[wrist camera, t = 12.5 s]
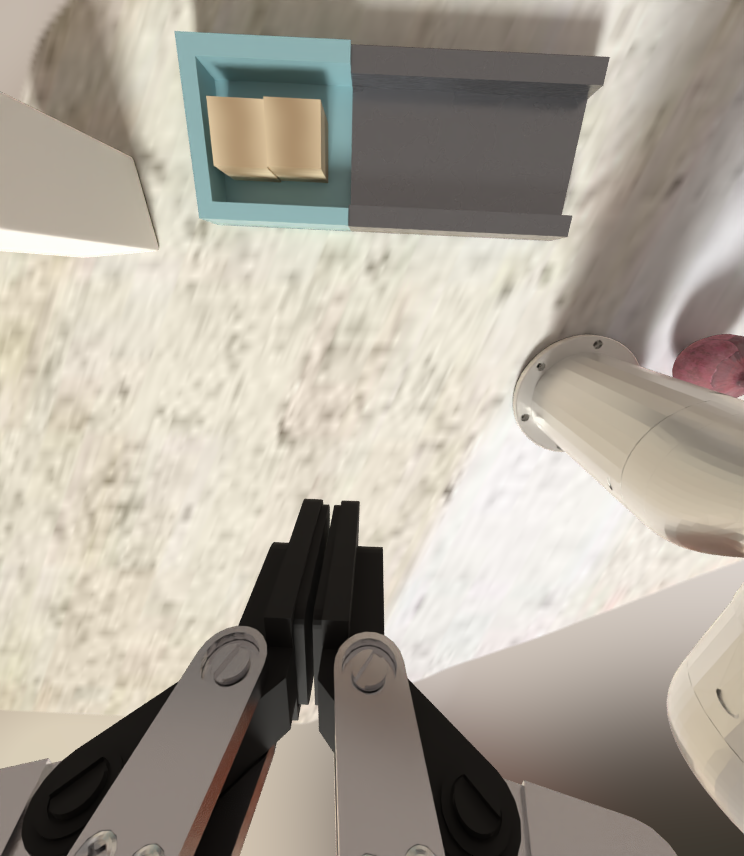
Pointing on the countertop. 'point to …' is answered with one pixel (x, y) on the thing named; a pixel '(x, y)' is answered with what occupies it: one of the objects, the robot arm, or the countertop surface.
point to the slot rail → (466, 140)
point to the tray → (254, 78)
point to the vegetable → (714, 364)
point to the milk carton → (66, 190)
